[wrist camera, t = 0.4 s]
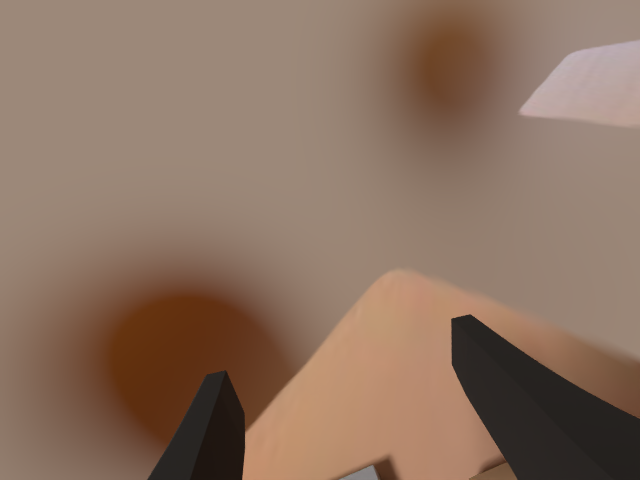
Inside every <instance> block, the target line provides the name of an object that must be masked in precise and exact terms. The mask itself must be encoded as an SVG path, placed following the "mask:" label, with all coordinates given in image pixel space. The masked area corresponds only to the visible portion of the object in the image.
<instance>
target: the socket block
mask: <svg viewBox="0 0 640 480" xmlns="http://www.w3.org/2000/svg"><path fill="white" fill-rule="evenodd" d="M469 480H517V478H516V476H515V474H514V473H513V471H512V469H511V467H510V466H509V464H508V462H506V463H504V464H501V465H499V466H497V467H494V468H492V469H490V470H488V471H485V472H483V473H481V474H478V475H476V476H474V477H472V478H469Z"/></svg>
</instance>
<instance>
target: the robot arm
mask: <svg viewBox="0 0 640 480" xmlns="http://www.w3.org/2000/svg"><path fill="white" fill-rule="evenodd" d="M451 326H452V366H453V368H454V370H455V372H456V375H457V377H458V379H459V381H460V383H461V385H462V387H463V390H464V392H465V394H466V396H467V397H468V399H469V401H470V402H471V404H472V406H473V407H474V409H475V411H476V412H477V414H478V415H479V417H480V419H481V420H482V422H483V424H484V425H485V427H486V428H487V430H488V432H489V433H490V435H491V436H492V438H493V440H494V441H495V443H496V445H497V446H498V448H499V449H500V451H501V453H502V454H503V456H504V457H505V459H506V461H507V462H508V464H509V466H510V467H511V469H512V471H513V473H514V474H515V476H516V478H517V480H640V419H639V418H637V417H634V416H632V415H630V414H628V413H626V412H624V411H622V410H620V409H618V408H616V407H614V406H613V405H611V404H609V403H607V402H605V401H603V400H601V399H600V398H598V397H596V396H594V395H592V394H590V393H588V392H586V391H585V390H583V389H581V388H579V387H578V386H576V385H574V384H573V383H571V382H569V381H568V380H566V379H564V378H563V377H561V376H559V375H558V374H556V373H555V372H553V371H551V370H550V369H548V368H547V367H545V366H544V365H542V364H540V363H539V362H537V361H536V360H534V359H533V358H531V357H530V356H528V355H527V354H525V353H524V352H522V351H521V350H520V349H518V348H517V347H515V346H514V345H512V344H511V343H509V342H508V341H507V340H505V339H504V338H502V337H501V336H500V335H498V334H497V333H495V332H494V331H493V330H491V329H490V328H489V327H487V326H486V325H484V324H483V323H482V322H480V321H479V320H478V319H476V318H475V317H473V316H472V315H465V316H461V317H457V318H452V319H451ZM244 453H245V415H244V411H243V408H242V406H241V404H240V401H239V399H238V397H237V395H236V392H235V390H234V388H233V385H232V383H231V381H230V379H229V376H228V374H227V372H226V371H221V372H217V373H213V374H208V375H206V377H205V378H204V380H203V382H202V384H201V386H200V388H199V390H198V391H197V393H196V395H195V397H194V399H193V401H192V403H191V405H190V407H189V409H188V411H187V412H186V414H185V416H184V418H183V420H182V422H181V424H180V425H179V427H178V429H177V431H176V432H175V434H174V436H173V438H172V440H171V441H170V443H169V445H168V447H167V448H166V450H165V452H164V454H163V455H162V457H161V458H160V460H159V462H158V463H157V465H156V466H155V468H154V470H153V471H152V473H151V475H150V476H149V478H148V480H242V475H243V465H244Z"/></svg>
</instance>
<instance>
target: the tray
mask: <svg viewBox="0 0 640 480" xmlns="http://www.w3.org/2000/svg"><path fill="white" fill-rule="evenodd" d="M339 480H381V479H380V476H379V474H378V472H377V470H376V469H375V467H374V466H373V465H371V466H369V467H367V468H364V469H362V470H360V471H358V472H355V473H353V474H351V475H348V476H346V477H344V478H341V479H339Z"/></svg>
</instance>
